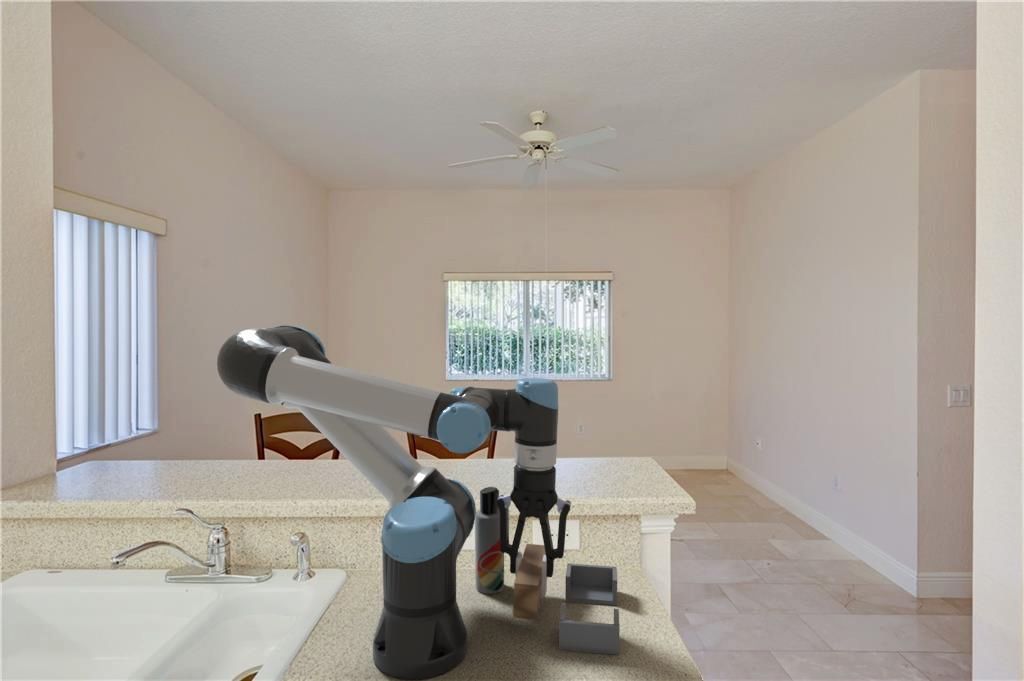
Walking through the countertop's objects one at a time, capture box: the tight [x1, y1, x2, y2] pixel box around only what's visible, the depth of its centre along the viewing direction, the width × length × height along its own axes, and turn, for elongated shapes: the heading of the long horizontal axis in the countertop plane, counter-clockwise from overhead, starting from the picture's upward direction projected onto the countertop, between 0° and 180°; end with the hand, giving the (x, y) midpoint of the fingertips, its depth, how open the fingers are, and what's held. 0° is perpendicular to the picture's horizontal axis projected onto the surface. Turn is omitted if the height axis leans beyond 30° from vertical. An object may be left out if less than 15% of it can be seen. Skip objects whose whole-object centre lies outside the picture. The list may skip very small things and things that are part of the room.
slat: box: [512, 543, 546, 621], centre depth 103 cm, size 4×16×6 cm, turn 171°
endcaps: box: [558, 563, 620, 656], centre depth 102 cm, size 10×21×5 cm, turn 171°
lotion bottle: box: [474, 486, 505, 595], centre depth 112 cm, size 6×6×20 cm
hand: (531, 591), depth 103 cm, fingers closed on slat, 4 cm apart
